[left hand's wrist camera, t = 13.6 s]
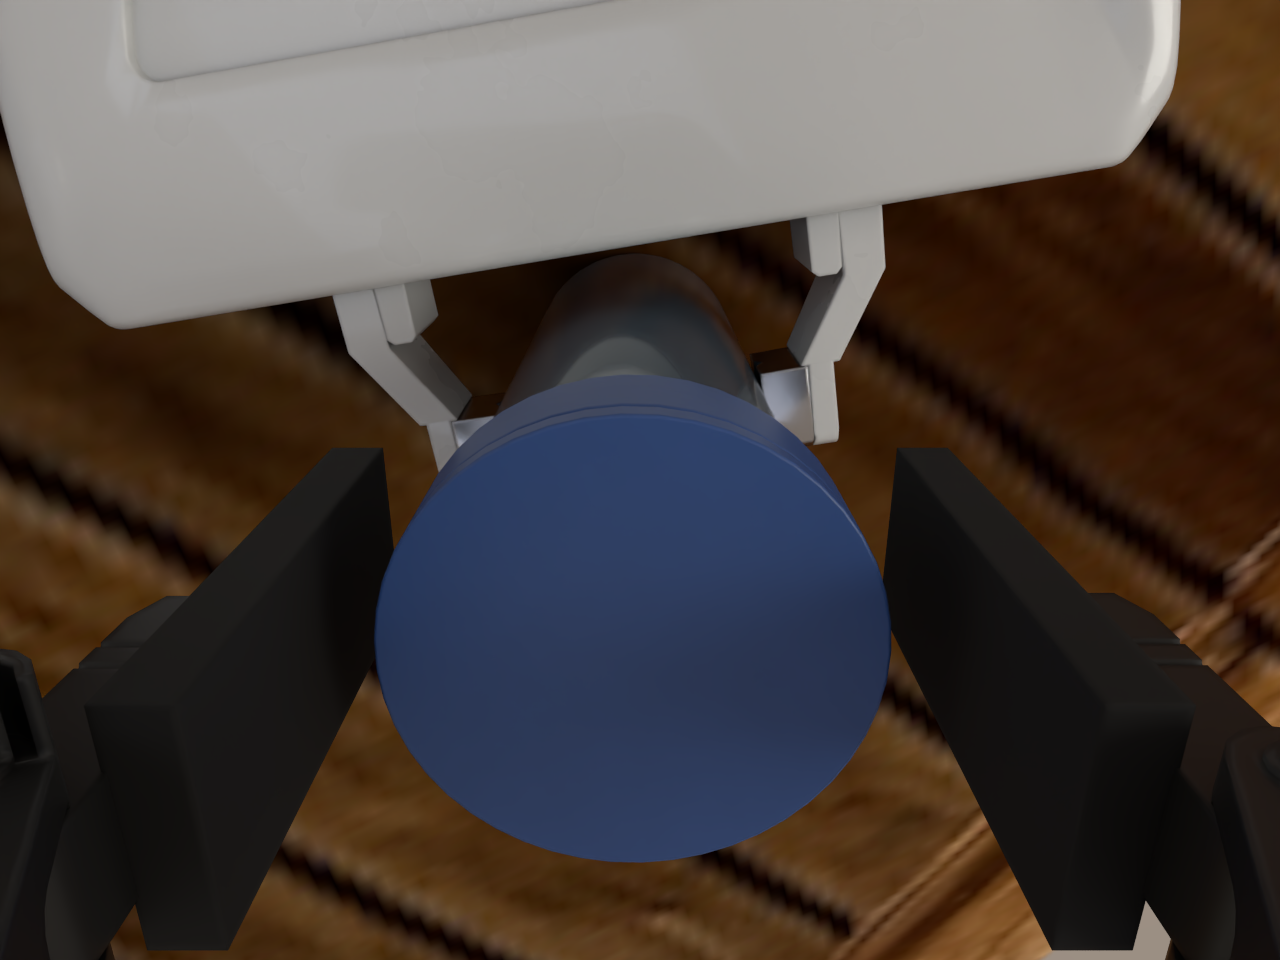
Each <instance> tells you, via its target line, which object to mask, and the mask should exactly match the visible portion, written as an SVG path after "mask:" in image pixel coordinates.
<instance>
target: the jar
mask: <svg viewBox="0 0 1280 960" xmlns="http://www.w3.org/2000/svg"><path fill="white" fill-rule="evenodd" d="M614 375H657V376H663V377H670V378H676V379H683V380H688V381H692V382H695V383H699V384H702V385H706V386H709V387H713V388H716V389H719V390H721V391H724V392H726V393H728V394H730V395H733V396H735V397H737V398H740V399H742V400H744V401H746V402H748V403H750V404H752V405H753V406H755V407H757V408H758V409H760V410H761V411H763V412H765V413H766V414H768V415H770V416H771V417H773V418H774V419H775V417H774V415H773V413H772V411H771V409H770V407H769V405H768V402H767V400H766V398H765V396H764V394H763V392H762V390H761V388H760V386H759V384H758V381H757V379H756V377H755V375H754V373H753V371H752V369H751V367H750V365H749V363H748V361H747V358H746V356H745V354H744V352H743V350H742V348H741V346H740V344H739V342H738V340H737V337H736V335H735V333H734V331H733V329H732V327H731V325H730V323H729V321H728V319H727V316H726V314H725V312H724V310H723V308H722V306H721V304H720V302H719V300H718V299H717V298H716V296H715V295H714V293H713V292H712V290H711V289H710V288H709V287H708V286H707V285H706V284H705V283H704V281H703V280H701V279H700V278H699V277H698V276H697V275H695V274H694V273H693V272H692V271H690V270H688V269H687V268H685V267H684V266H682V265H680V264H678V263H676V262H673V261H671V260H669V259H665V258H662V257H659V256H654V255H648V254H623V255H616V256H612V257H608V258H605V259H602V260H600V261H597V262H595V263H593V264H591V265H589V266H587V267H585V268H584V269H582V270H581V271H579V272H578V273H577V274H575V275H574V276H573V277H571V278H570V279H569V280H568V281H567V282H566V283H565V284H564V285H563V286H562V288H561V289H560V290H559V291H558V293H557V294H556V295H555V297H554V299H553V300H552V302H551V304H550V305H549V307H548V309H547V311H546V313H545V315H544V317H543V319H542V321H541V323H540V325H539V327H538V329H537V331H536V333H535V335H534V337H533V339H532V341H531V343H530V345H529V347H528V349H527V351H526V353H525V355H524V357H523V359H522V361H521V363H520V365H519V367H518V369H517V371H516V373H515V376H514V378H513V380H512V382H511V384H510V386H509V388H508V390H507V392H506V394H505V396H504V398H503V400H502V402H501V404H500V406H499V408H498V410H497V412H496V414H495V416H497V415H498V414H500V413H501V412H502V411H504V410H506V409H508V408H509V407H511V406H513V405H515V404H517V403H519V402H521V401H523V400H524V399H526V398H528V397H530V396H532V395H535V394H538V393H540V392H543V391H546V390H548V389H551V388H554V387H556V386H559V385H563V384H567V383H571V382H576V381H580V380H584V379H588V378H594V377H604V376H614ZM495 416H494V417H495Z"/></svg>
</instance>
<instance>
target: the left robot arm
mask: <svg viewBox="0 0 1280 960" xmlns="http://www.w3.org/2000/svg"><path fill="white" fill-rule="evenodd" d="M393 551H394V548H393V538H392V529H391V520H390V511H389V501H388V492H387V483H386V473H385V464H384V455H383V448H332V449H331V450H330V451H329V452H328V453H327V454H326V455H325V456H324V457H323V458H322V459H321V460H320V461H319V462H318V463H317V464H316V466H315V467H314V468H313V469H312V470H311V471H310V472H309V473H308V474H307V475H306V476H305V477H304V478H303V479H302V480H301V481H300V482H299V483H298V484H297V485H296V486H295V487H294V488H293V489H292V490H291V491H290V492H289V493H288V495H287V496H286V497H285V498H284V499H283V500H282V501H281V502H280V503H279V504H278V505H277V506H276V507H275V508H274V509H273V510H272V511H271V512H270V513H269V514H268V515H267V516H266V517H265V518H264V519H263V520H262V521H261V522H260V523H259V525H258V526H257V527H256V528H255V529H254V530H253V531H252V532H251V533H250V534H249V535H248V536H247V537H246V538H245V539H244V540H243V541H242V542H241V543H240V544H239V545H238V546H237V547H236V548H235V549H234V550H233V551H232V552H231V554H230V555H229V556H228V557H227V558H226V559H225V560H224V561H223V562H222V563H221V564H220V565H219V566H218V567H217V568H216V569H215V570H214V571H213V572H212V573H211V574H210V575H209V576H208V577H207V578H206V579H205V580H204V581H203V582H202V584H201V585H200V586H199V587H198V588H197V589H196V590H195V591H194V592H193V593H192V594H191V595H190V596H166V597H164V598H162V599H161V600H159V601H157V602H155V603H153V604H151V605H150V606H148V607H146V608H144V609H142V610H140V611H138V612H137V613H135V614H133V615H131V616H129V617H127V618H126V619H125V620H124V621H123V622H122V623H121V624H120V625H119V626H118V627H117V628H116V629H115V630H114V631H113V632H112V633H111V634H109V635H108V636H107V637H106V638H105V639H104V640H103V641H102V642H101V647H96V648H95V649H94V650H93V651H92V652H91V653H90V654H88V655H87V656H86V657H85V658H84V659H83V660H82V661H81V662H80V663H79V669H73V670H72V671H71V672H70V673H68V674H67V675H66V676H65V677H64V678H63V679H62V680H61V681H60V682H59V683H58V684H57V685H56V686H55V687H54V688H53V689H52V690H51V691H50V692H49V693H47V694H46V695H45V696H44V697H43V698H42V697H41V693H40V690H39V686H38V683H37V679H36V676H35V672H34V668H33V665H32V661H31V659H29V658H27V657H26V656H24V655H23V654H21V653H19V652H18V651H14V650H6V649H0V960H115V958H114V955H113V951H112V948H111V944H110V941H111V940H112V938H113V937H114V935H115V934H116V932H117V931H118V929H119V928H120V926H121V925H122V923H123V922H124V920H125V918H126V917H127V915H128V914H129V912H130V911H131V909H132V908H133V906H134V905H136V908H137V912H138V916H139V920H140V924H141V928H142V931H143V935H144V939H145V943H146V947H147V950H228V949H229V947H230V945H231V943H232V941H233V939H234V937H235V935H236V933H237V931H238V929H239V927H240V925H241V923H242V921H243V919H244V917H245V915H246V913H247V911H248V909H249V907H250V905H251V903H252V901H253V899H254V897H255V895H256V893H257V891H258V889H259V887H260V885H261V883H262V882H263V880H264V878H265V876H266V874H267V872H268V870H269V868H270V866H271V864H272V862H273V860H274V858H275V856H276V854H277V852H278V850H279V848H280V846H281V844H282V842H283V840H284V838H285V836H286V834H287V832H288V830H289V828H290V826H291V824H292V822H293V820H294V818H295V816H296V814H297V812H298V810H299V808H300V806H301V804H302V802H303V800H304V798H305V796H306V794H307V792H308V790H309V788H310V786H311V784H312V782H313V780H314V778H315V776H316V774H317V772H318V770H319V768H320V766H321V764H322V762H323V760H324V758H325V756H326V754H327V752H328V750H329V748H330V746H331V744H332V742H333V740H334V738H335V736H336V734H337V732H338V730H339V728H340V726H341V724H342V722H343V720H344V718H345V716H346V714H347V712H348V710H349V708H350V706H351V704H352V702H353V700H354V698H355V696H356V694H357V692H358V690H359V688H360V686H361V684H362V682H363V680H364V678H365V676H366V674H367V672H368V670H369V668H370V666H371V664H372V662H373V660H374V658H375V647H374V629H375V614H376V606H377V602H378V597H379V593H380V588H381V584H382V580H383V577H384V575H385V572H386V569H387V567H388V564H389V562H390V559H391V556H392V554H393ZM883 583H884V587H885V590H886V593H887V600H888V606H889V612H890V619H891V631H892V633H893V634H894V636H895V638H896V640H897V642H898V644H899V646H900V648H901V650H902V652H903V654H904V656H905V658H906V660H907V662H908V664H909V666H910V668H911V670H912V672H913V674H914V676H915V678H916V680H917V682H918V684H919V686H920V688H921V690H922V692H923V694H924V696H925V698H926V700H927V702H928V704H929V706H930V708H931V710H932V712H933V714H934V716H935V718H936V720H937V722H938V724H939V726H940V728H941V730H942V732H943V734H944V736H945V738H946V740H947V742H948V744H949V746H950V748H951V750H952V752H953V754H954V756H955V758H956V760H957V762H958V764H959V766H960V768H961V770H962V772H963V774H964V776H965V778H966V780H967V782H968V784H969V786H970V788H971V790H972V792H973V794H974V796H975V798H976V800H977V802H978V804H979V806H980V808H981V810H982V812H983V814H984V816H985V818H986V820H987V822H988V824H989V826H990V828H991V830H992V832H993V834H994V836H995V838H996V840H997V842H998V844H999V846H1000V848H1001V850H1002V852H1003V854H1004V856H1005V858H1006V860H1007V862H1008V864H1009V866H1010V868H1011V870H1012V872H1013V873H1014V875H1015V877H1016V879H1017V881H1018V883H1019V885H1020V887H1021V889H1022V891H1023V893H1024V895H1025V897H1026V899H1027V901H1028V903H1029V905H1030V907H1031V909H1032V911H1033V913H1034V915H1035V917H1036V919H1037V921H1038V923H1039V925H1040V927H1041V929H1042V931H1043V933H1044V935H1045V937H1046V939H1047V941H1048V943H1049V945H1050V947H1051V949H1052V950H1133V947H1134V943H1135V939H1136V935H1137V931H1138V927H1139V924H1140V920H1141V916H1142V912H1143V909H1144V905H1145V901H1147V903H1148V904H1149V906H1150V907H1151V909H1152V910H1153V912H1154V914H1155V915H1156V917H1157V918H1158V920H1159V921H1160V923H1161V924H1162V926H1163V927H1164V929H1165V930H1166V932H1167V933H1168V935H1169V936H1170V938H1171V941H1170V944H1169V948H1168V951H1167V955H1166V958H1165V960H1280V727H1272V726H1271V725H1270V724H1269V723H1268V722H1267V721H1266V720H1265V719H1264V718H1263V717H1262V716H1261V715H1259V714H1258V713H1257V712H1256V711H1255V710H1254V709H1253V708H1252V707H1251V706H1250V705H1249V704H1248V703H1247V702H1246V701H1245V700H1244V699H1243V698H1241V697H1240V696H1239V695H1238V694H1237V693H1236V692H1235V691H1234V690H1233V689H1232V688H1231V687H1230V686H1229V685H1228V684H1227V683H1226V682H1225V681H1223V680H1222V679H1221V678H1220V677H1219V676H1218V675H1217V674H1216V673H1215V672H1214V671H1213V670H1212V669H1211V668H1210V667H1209V666H1208V665H1202V660H1201V659H1200V658H1199V657H1198V656H1197V655H1196V654H1195V653H1194V652H1193V651H1192V650H1191V649H1190V648H1189V647H1187V646H1186V645H1185V644H1180V639H1179V638H1178V637H1177V636H1176V635H1175V634H1174V633H1173V632H1172V631H1171V630H1169V629H1168V628H1167V627H1166V626H1165V625H1164V624H1163V623H1162V622H1161V621H1160V620H1159V619H1158V618H1157V617H1156V616H1155V615H1154V614H1152V613H1150V612H1148V611H1146V610H1144V609H1143V608H1141V607H1139V606H1137V605H1135V604H1133V603H1131V602H1129V601H1128V600H1126V599H1124V598H1122V597H1120V596H1118V595H1116V594H1115V593H1087V592H1086V591H1085V590H1084V589H1083V588H1082V587H1081V586H1080V585H1079V584H1078V582H1077V581H1076V580H1075V579H1074V578H1073V577H1072V576H1071V575H1070V574H1069V573H1068V572H1067V571H1066V570H1065V569H1064V568H1063V567H1062V566H1061V565H1060V564H1059V563H1058V562H1057V561H1056V560H1055V559H1054V558H1053V557H1052V556H1051V555H1050V553H1049V552H1048V551H1047V550H1046V549H1045V548H1044V547H1043V546H1042V545H1041V544H1040V543H1039V542H1038V541H1037V540H1036V539H1035V538H1034V537H1033V536H1032V535H1031V534H1030V533H1029V532H1028V531H1027V530H1026V529H1025V528H1024V527H1023V526H1022V525H1021V523H1020V522H1019V521H1018V520H1017V519H1016V518H1015V517H1014V516H1013V515H1012V514H1011V513H1010V512H1009V511H1008V510H1007V509H1006V508H1005V507H1004V506H1003V505H1002V504H1001V503H1000V502H999V501H998V500H997V499H996V498H995V497H994V496H993V494H992V493H991V492H990V491H989V490H988V489H987V488H986V487H985V486H984V485H983V484H982V483H981V482H980V481H979V480H978V479H977V478H976V477H975V476H974V475H973V474H972V473H971V472H970V471H969V470H968V469H967V468H966V467H965V466H964V464H963V463H962V462H961V461H960V460H959V459H958V458H957V457H956V456H955V455H954V454H953V453H952V452H951V451H950V450H949V449H948V448H897V455H896V464H895V474H894V483H893V492H892V501H891V511H890V520H889V529H888V539H887V548H886V557H885V567H884V576H883Z"/></svg>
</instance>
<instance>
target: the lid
mask: <svg viewBox="0 0 1280 960" xmlns="http://www.w3.org/2000/svg"><path fill="white" fill-rule="evenodd" d="M374 647H375V658H376V669H377V673H378V677H379V681H380V685H381V690H382V694H383V698H384V700H385V703H386V705H387V708H388V710H389V713H390V715H391V718H392V720H393V723H394V725H395V727H396V729H397V731H398V732H399V734H400V736H401V738H402V739H403V741H404V743H405V745H406V746H407V748H408V750H409V751H410V753H411V754H412V755H413V756H414V758H415V759H416V760H417V762H418V763H419V764H420V766H421V767H422V768H423V770H424V771H425V772H426V773H427V774H428V776H429V777H430V778H431V779H432V780H433V781H434V782H435V783H436V784H437V785H438V786H439V787H440V788H441V789H442V790H443V791H444V792H445V793H446V794H447V795H449V796H450V797H451V798H452V799H454V800H455V801H456V802H457V803H459V804H460V805H461V806H463V807H464V808H465V809H466V810H468V811H469V812H470V813H472V814H473V815H475V816H476V817H478V818H480V819H481V820H483V821H485V822H486V823H488V824H490V825H491V826H493V827H494V828H496V829H498V830H500V831H502V832H504V833H507V834H509V835H511V836H513V837H515V838H517V839H519V840H521V841H524V842H527V843H530V844H532V845H535V846H538V847H541V848H544V849H547V850H550V851H553V852H558V853H562V854H566V855H571V856H575V857H579V858H585V859H594V860H602V861H610V862H653V861H665V860H674V859H680V858H685V857H690V856H696V855H701V854H705V853H708V852H712V851H715V850H718V849H722V848H725V847H728V846H732V845H734V844H737V843H739V842H741V841H744V840H746V839H748V838H751V837H753V836H756V835H758V834H760V833H762V832H764V831H765V830H767V829H769V828H771V827H773V826H774V825H776V824H778V823H780V822H782V821H783V820H785V819H787V818H788V817H789V816H791V815H792V814H794V813H795V812H796V811H798V810H799V809H801V808H802V807H803V806H805V805H806V804H808V803H809V802H810V801H811V800H812V799H813V798H815V797H816V796H817V795H818V794H819V793H820V792H821V791H822V790H823V789H824V788H825V787H827V786H828V785H829V784H830V783H831V782H832V781H833V780H834V778H835V777H836V776H837V775H838V774H839V772H840V771H841V770H842V769H843V768H844V767H845V765H846V764H847V763H848V762H849V761H850V759H851V758H852V756H853V755H854V753H855V752H856V750H857V749H858V747H859V745H860V744H861V742H862V741H863V739H864V738H865V736H866V734H867V732H868V730H869V728H870V726H871V723H872V721H873V719H874V717H875V715H876V713H877V711H878V708H879V705H880V701H881V698H882V695H883V691H884V688H885V685H886V681H887V676H888V669H889V662H890V656H891V619H890V612H889V606H888V600H887V593H886V590H885V587H884V583H883V580H882V577H881V574H880V571H879V568H878V565H877V562H876V560H875V558H874V556H873V554H872V552H871V550H870V548H869V546H868V544H867V542H866V540H865V538H864V536H863V534H862V532H861V530H860V529H859V527H858V525H857V524H856V522H855V520H854V518H853V516H852V514H851V512H850V511H849V509H848V507H847V505H846V504H845V502H844V500H843V498H842V496H841V495H840V493H839V491H838V489H837V487H836V486H835V484H834V482H833V481H832V479H831V478H830V476H829V475H828V473H827V472H826V470H825V469H824V468H823V466H822V465H821V463H820V462H819V460H818V459H817V458H816V457H815V456H814V455H813V453H812V452H811V451H810V450H809V449H808V448H807V447H806V446H805V445H804V444H803V443H802V442H801V441H800V440H799V438H798V437H797V436H795V435H794V434H793V433H792V432H790V431H789V430H788V429H787V428H785V427H784V426H783V425H782V424H781V423H779V422H778V421H777V420H776V419H774V418H773V417H771V416H770V415H768V414H766V413H765V412H763V411H761V410H760V409H758V408H757V407H755V406H753V405H752V404H750V403H748V402H746V401H744V400H742V399H740V398H737V397H735V396H733V395H730V394H728V393H726V392H724V391H721V390H719V389H716V388H713V387H709V386H706V385H702V384H699V383H695V382H692V381H688V380H683V379H676V378H670V377H663V376H657V375H614V376H604V377H594V378H588V379H584V380H580V381H576V382H571V383H567V384H563V385H559V386H556V387H554V388H551V389H548V390H546V391H543V392H540V393H538V394H535V395H532V396H530V397H528V398H526V399H524V400H523V401H521V402H519V403H517V404H515V405H513V406H511V407H509V408H508V409H506V410H504V411H502V412H501V413H500V414H498V415H497V416H495V417H494V418H493V419H491V420H490V421H488V422H487V423H486V424H484V425H483V426H482V427H480V428H479V429H478V430H477V431H476V432H475V433H473V434H472V435H471V436H470V437H469V438H468V439H467V440H466V441H465V442H464V443H463V444H462V445H461V446H460V447H459V448H458V449H457V450H456V451H455V452H454V454H453V455H452V456H451V458H450V459H449V460H448V461H447V463H446V464H445V465H444V467H443V468H442V469H441V470H440V472H439V473H438V475H437V477H436V478H435V480H434V482H433V484H432V485H431V487H430V489H429V490H428V492H427V494H426V496H425V497H424V499H423V501H422V503H421V504H420V506H419V508H418V510H417V511H416V513H415V515H414V516H413V518H412V520H411V522H410V523H409V525H408V527H407V529H406V530H405V532H404V534H403V536H402V537H401V539H400V541H399V543H398V544H397V546H396V548H395V550H394V551H393V554H392V556H391V559H390V562H389V564H388V567H387V569H386V572H385V575H384V577H383V580H382V584H381V588H380V593H379V597H378V602H377V606H376V614H375V629H374Z"/></svg>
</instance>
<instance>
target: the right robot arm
mask: <svg viewBox="0 0 1280 960" xmlns="http://www.w3.org/2000/svg"><path fill="white" fill-rule="evenodd" d="M1180 8H1181V0H0V113H1V117H2V121H3V125H4V128H5V132H6V136H7V140H8V144H9V147H10V151H11V155H12V159H13V163H14V166H15V170H16V173H17V177H18V180H19V184H20V187H21V190H22V194H23V197H24V201H25V204H26V207H27V211H28V214H29V217H30V220H31V223H32V226H33V229H34V233H35V236H36V239H37V242H38V245H39V248H40V250H41V253H42V255H43V258H44V260H45V263H46V265H47V268H48V270H49V272H50V274H51V276H52V278H53V280H54V281H55V282H56V284H57V285H58V286H59V287H60V288H61V289H62V290H63V291H65V292H66V293H67V294H68V295H70V296H71V297H72V298H73V299H75V300H76V301H77V302H78V303H80V304H81V305H82V306H83V307H84V308H86V309H87V310H88V311H89V312H91V313H92V314H93V315H95V316H96V317H98V318H99V319H100V320H102V321H103V322H104V323H106V324H107V325H108V326H111V327H113V328H116V329H132V328H138V327H145V326H151V325H157V324H163V323H169V322H175V321H181V320H187V319H193V318H199V317H205V316H211V315H218V314H224V313H230V312H236V311H242V310H248V309H254V308H260V307H266V306H272V305H278V304H284V303H290V302H296V301H302V300H308V299H314V298H320V297H326V296H333V299H334V303H335V307H336V310H337V314H338V317H339V321H340V324H341V328H342V331H343V335H344V339H345V342H346V346H347V349H348V353H349V354H350V355H351V356H352V357H353V358H354V359H355V360H356V361H357V362H358V363H359V364H360V365H361V366H362V368H363V369H364V370H365V371H366V372H367V373H368V374H369V375H370V376H371V377H372V378H373V379H374V380H375V381H376V382H377V383H378V384H379V385H380V386H381V387H382V388H383V389H384V390H385V391H386V392H387V393H388V394H389V395H390V396H391V397H392V398H393V399H394V400H395V401H396V402H397V403H398V404H399V405H400V406H401V407H402V408H403V409H404V410H405V411H406V412H407V413H408V414H409V415H410V416H411V417H412V418H413V419H414V420H415V421H416V422H417V423H418V424H419V425H420V426H425V425H427V429H428V433H429V436H430V440H431V444H432V448H433V452H434V456H435V459H436V463H437V467H438V471H439V472H440V470H441V469H442V468H443V467H444V465H445V464H446V463H447V461H448V460H449V459H450V458H451V456H452V455H453V454H454V452H455V451H456V450H457V449H458V448H459V447H460V446H461V445H462V444H463V443H464V442H465V441H466V440H467V439H468V438H469V437H470V436H471V435H472V434H473V433H475V432H476V431H477V430H478V429H479V428H480V427H482V426H483V425H484V424H486V423H487V422H488V421H490V420H491V419H493V418H494V416H495V414H496V412H497V410H498V408H499V406H500V404H501V402H502V400H503V398H504V396H505V394H506V392H505V393H498V394H490V395H483V396H475V397H471V396H472V394H471V393H470V392H469V391H468V390H467V388H466V387H465V386H464V385H463V384H462V383H461V381H460V380H459V379H458V378H457V377H456V376H455V375H454V373H453V372H452V371H451V370H450V369H449V368H448V366H447V365H446V364H445V363H444V362H443V361H442V359H441V358H440V357H439V356H438V355H437V354H436V353H435V351H434V350H433V349H432V348H431V347H430V346H429V344H428V343H427V342H426V341H425V340H424V339H423V337H422V336H421V335H420V334H421V333H422V332H423V331H424V330H425V329H426V328H427V327H428V326H430V325H431V324H432V323H433V322H434V321H435V319H436V318H437V316H438V312H437V308H436V303H435V299H434V295H433V290H432V286H431V282H430V279H435V278H441V277H447V276H453V275H459V274H465V273H472V272H478V271H484V270H490V269H496V268H502V267H508V266H514V265H520V264H526V263H532V262H538V261H544V260H550V259H556V258H562V257H568V256H574V255H580V254H586V253H593V252H599V251H605V250H611V249H617V248H623V247H629V246H635V245H641V244H647V243H653V242H659V241H665V240H671V239H677V238H683V237H689V236H695V235H701V234H707V233H713V232H720V231H726V230H732V229H738V228H744V227H750V226H756V225H762V224H768V223H774V222H780V221H786V220H790V226H791V235H792V243H793V252H794V257H795V258H796V259H797V260H798V261H799V262H800V263H802V264H803V265H804V266H805V267H806V268H808V269H809V270H810V271H811V272H813V273H814V274H816V277H815V279H814V282H813V284H812V286H811V289H810V291H809V293H808V296H807V298H806V300H805V303H804V305H803V307H802V310H801V312H800V315H799V317H798V319H797V322H796V324H795V326H794V329H793V331H792V333H791V336H790V338H789V340H788V343H787V346H788V347H786V348H780V349H775V350H769V351H764V352H758V353H753V354H750V359H751V368H752V371H753V373H754V375H755V377H756V379H757V381H758V384H759V386H760V388H761V390H762V392H763V394H764V396H765V398H766V400H767V402H768V405H769V407H770V409H771V411H772V413H773V415H774V417H775V419H776V420H777V421H778V422H779V423H781V424H782V425H783V426H784V427H785V428H787V429H788V430H789V431H790V432H792V433H793V434H794V435H795V436H797V437H798V438H799V440H800V441H801V442H802V443H803V444H804V445H805V446H810V445H816V444H823V443H830V442H836V441H837V440H838V434H839V423H838V412H837V400H836V388H835V376H834V365H833V362H834V361H839V360H840V359H841V357H842V355H843V353H844V351H845V348H846V346H847V344H848V342H849V340H850V338H851V336H852V334H853V332H854V330H855V328H856V326H857V324H858V322H859V320H860V318H861V316H862V314H863V312H864V310H865V308H866V306H867V304H868V302H869V300H870V298H871V296H872V294H873V292H874V290H875V288H876V286H877V284H878V282H879V279H880V277H881V275H882V273H883V271H884V269H885V253H884V236H883V218H882V205H883V204H889V203H895V202H901V201H907V200H913V199H919V198H925V197H931V196H937V195H943V194H949V193H955V192H961V191H968V190H974V189H980V188H986V187H992V186H998V185H1004V184H1010V183H1016V182H1022V181H1028V180H1034V179H1040V178H1046V177H1052V176H1058V175H1064V174H1070V173H1076V172H1082V171H1088V170H1094V169H1100V168H1106V167H1112V166H1114V165H1117V164H1119V163H1121V162H1123V161H1124V160H1125V159H1126V158H1127V157H1129V155H1130V154H1131V153H1132V151H1133V150H1134V149H1135V148H1136V146H1137V145H1138V144H1139V143H1140V141H1141V140H1142V138H1143V137H1144V135H1145V134H1146V132H1147V131H1148V129H1149V128H1150V126H1151V125H1152V123H1153V122H1154V120H1155V119H1156V117H1157V116H1158V114H1159V113H1160V111H1161V110H1162V108H1163V107H1164V105H1165V104H1166V102H1167V101H1168V99H1169V97H1170V94H1171V91H1172V89H1173V85H1174V80H1175V74H1176V69H1177V61H1178V48H1179V32H1180Z"/></svg>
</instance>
